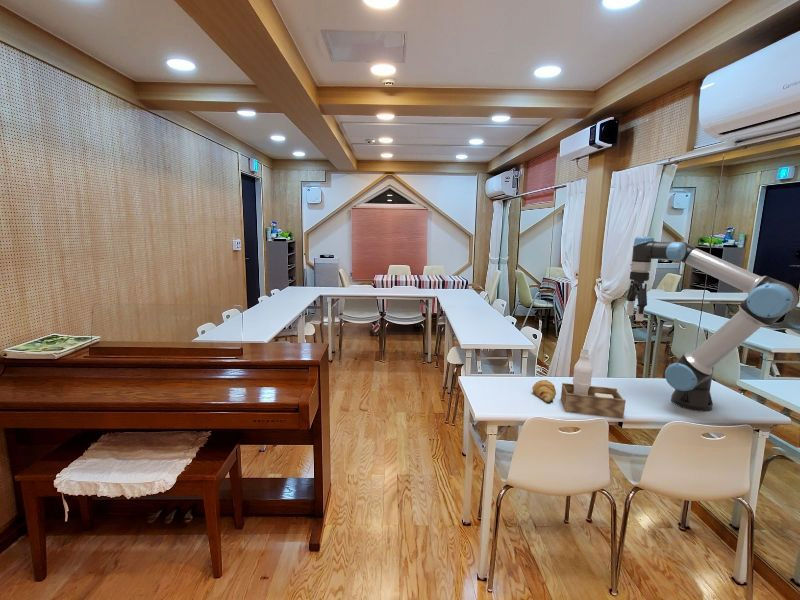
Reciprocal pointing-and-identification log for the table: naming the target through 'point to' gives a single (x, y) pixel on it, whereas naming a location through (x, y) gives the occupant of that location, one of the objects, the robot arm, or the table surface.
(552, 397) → the croissant
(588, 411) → the crate
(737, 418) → the table surface
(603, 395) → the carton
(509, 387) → the table surface
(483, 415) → the table surface
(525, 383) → the table surface
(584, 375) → the water bottle
